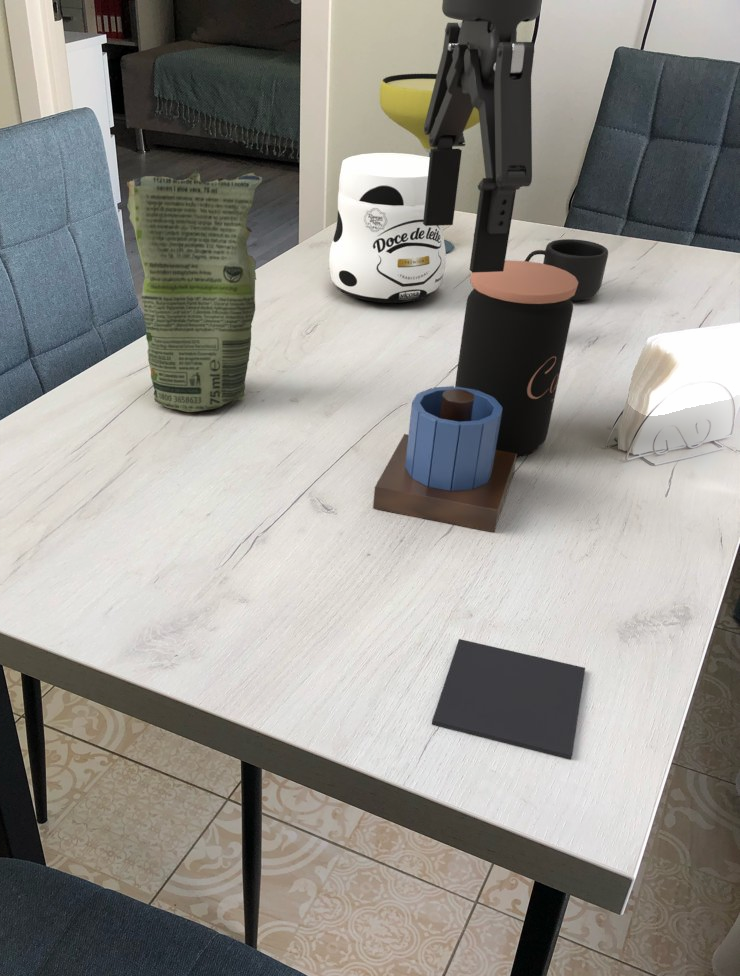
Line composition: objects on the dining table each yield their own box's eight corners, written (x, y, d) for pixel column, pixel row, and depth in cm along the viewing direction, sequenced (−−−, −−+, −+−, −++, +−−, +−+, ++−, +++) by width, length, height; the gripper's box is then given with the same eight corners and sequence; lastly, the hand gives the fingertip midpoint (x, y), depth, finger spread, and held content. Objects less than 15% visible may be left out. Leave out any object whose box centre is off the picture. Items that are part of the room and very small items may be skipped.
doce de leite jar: (411, 320, 133) (424, 186, 122) (306, 296, 140) (310, 167, 129) (460, 287, 145) (476, 161, 134) (361, 266, 152) (369, 145, 141)
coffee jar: (527, 470, 99) (561, 302, 88) (434, 445, 103) (454, 281, 92) (557, 431, 107) (591, 271, 96) (468, 409, 111) (491, 253, 100)
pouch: (132, 397, 111) (113, 172, 96) (202, 367, 119) (195, 153, 104) (200, 426, 106) (191, 191, 91) (269, 393, 113) (271, 170, 98)
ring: (497, 457, 96) (508, 394, 92) (482, 497, 90) (493, 431, 85) (416, 443, 98) (424, 381, 94) (397, 481, 92) (403, 415, 88)
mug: (593, 287, 146) (603, 240, 142) (603, 307, 139) (614, 258, 135) (515, 283, 147) (523, 236, 143) (521, 303, 140) (529, 254, 136)
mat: (584, 671, 74) (585, 667, 73) (570, 759, 66) (572, 755, 66) (458, 642, 76) (459, 638, 76) (431, 724, 69) (432, 720, 68)
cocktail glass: (486, 239, 165) (508, 79, 150) (457, 268, 152) (479, 96, 137) (389, 225, 171) (401, 70, 156) (353, 252, 158) (363, 85, 143)
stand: (513, 474, 98) (530, 380, 92) (494, 532, 89) (512, 433, 83) (402, 454, 101) (411, 362, 95) (372, 508, 92) (381, 410, 86)
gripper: (404, -52, 80) (384, 209, 93) (509, -32, 60) (465, 295, 73) (488, -51, 81) (457, 207, 94) (617, -31, 61) (555, 291, 74)
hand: (460, 246), depth 84 cm, fingers open, 13 cm apart
